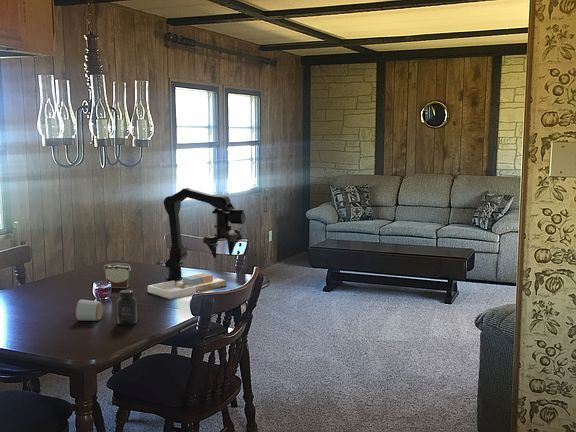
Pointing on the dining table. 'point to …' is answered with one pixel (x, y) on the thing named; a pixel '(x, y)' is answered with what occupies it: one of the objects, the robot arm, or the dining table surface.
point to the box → (170, 290)
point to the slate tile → (192, 280)
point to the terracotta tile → (205, 277)
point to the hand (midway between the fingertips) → (222, 256)
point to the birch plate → (203, 284)
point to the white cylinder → (89, 310)
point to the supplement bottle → (127, 308)
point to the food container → (117, 274)
